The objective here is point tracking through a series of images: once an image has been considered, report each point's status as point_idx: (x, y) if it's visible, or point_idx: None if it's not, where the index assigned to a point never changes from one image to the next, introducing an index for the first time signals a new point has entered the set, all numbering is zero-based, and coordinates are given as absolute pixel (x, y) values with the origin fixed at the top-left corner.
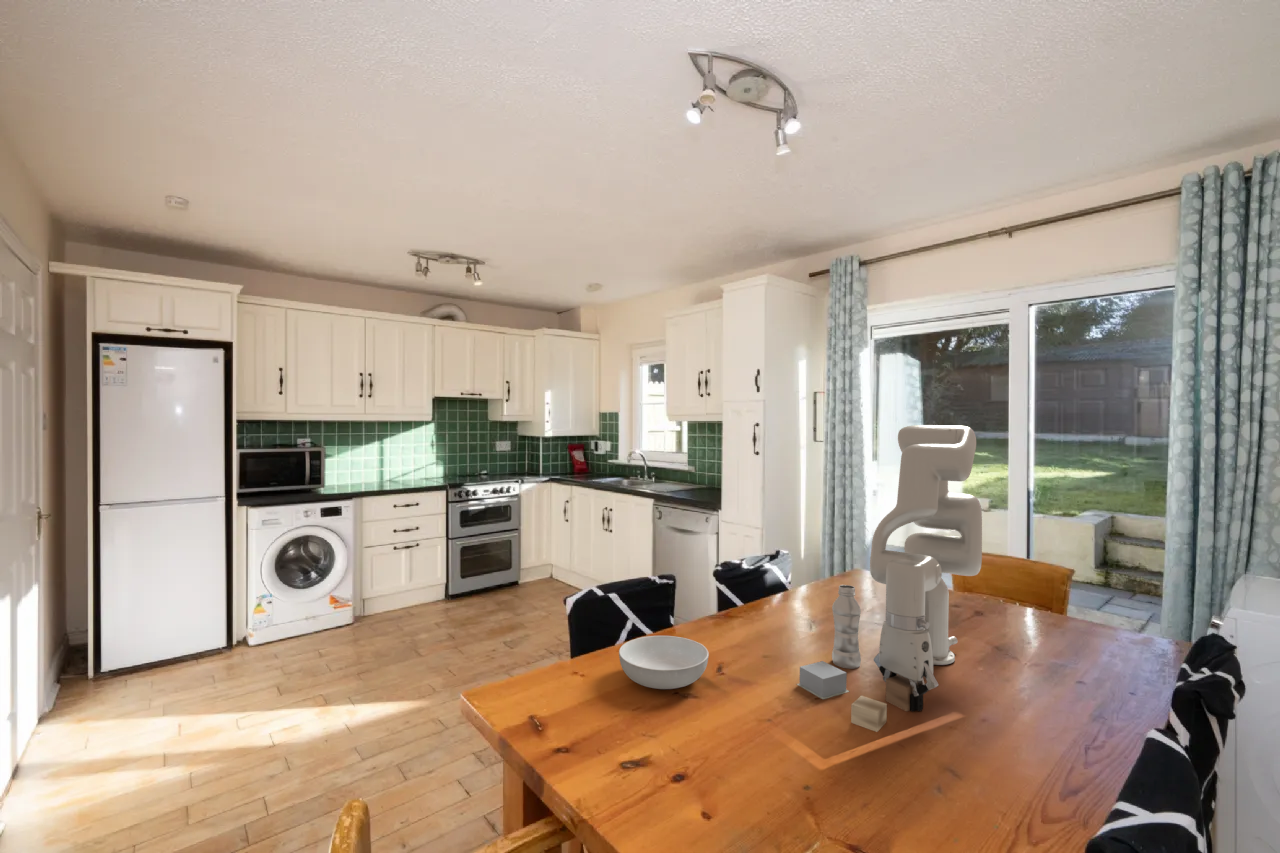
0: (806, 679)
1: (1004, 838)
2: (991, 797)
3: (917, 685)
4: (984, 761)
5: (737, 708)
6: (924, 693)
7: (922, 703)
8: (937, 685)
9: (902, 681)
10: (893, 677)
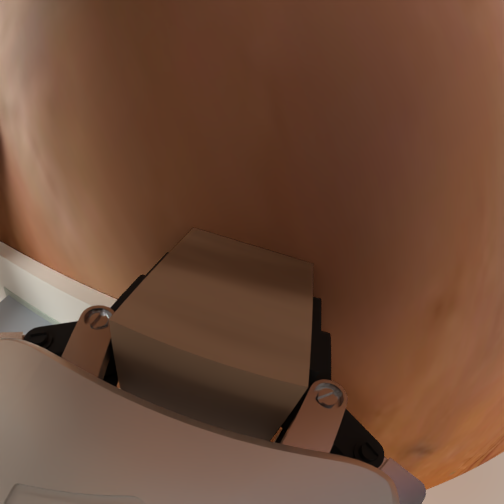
0: None
1: (455, 476)
2: (465, 451)
3: (286, 417)
4: (489, 396)
5: None
6: (338, 397)
7: (328, 353)
8: (419, 493)
9: (191, 415)
10: (128, 389)
